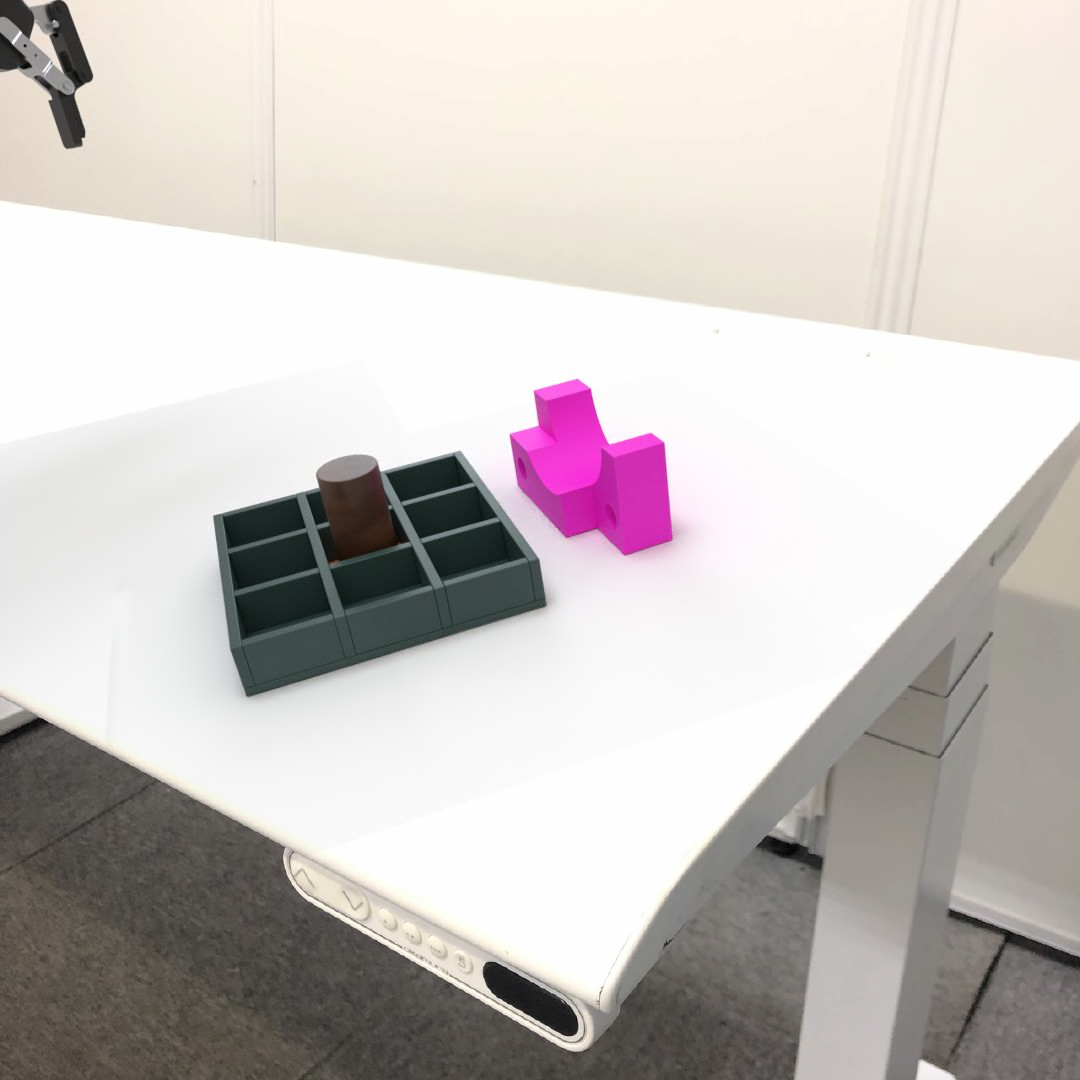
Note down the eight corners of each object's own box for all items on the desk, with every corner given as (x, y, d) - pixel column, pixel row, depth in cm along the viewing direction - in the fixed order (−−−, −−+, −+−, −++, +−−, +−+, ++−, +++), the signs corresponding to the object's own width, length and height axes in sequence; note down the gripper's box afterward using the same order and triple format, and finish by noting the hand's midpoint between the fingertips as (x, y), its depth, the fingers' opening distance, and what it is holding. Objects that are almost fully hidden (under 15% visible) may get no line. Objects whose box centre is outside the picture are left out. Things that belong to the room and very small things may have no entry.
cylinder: (348, 591, 71) (320, 487, 67) (338, 563, 74) (311, 464, 71) (407, 574, 72) (383, 471, 68) (395, 548, 75) (371, 448, 71)
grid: (246, 697, 63) (229, 649, 61) (226, 556, 80) (212, 515, 78) (547, 605, 67) (539, 558, 66) (468, 490, 84) (460, 450, 82)
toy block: (517, 484, 84) (503, 398, 80) (588, 464, 85) (577, 378, 81) (591, 565, 71) (578, 467, 67) (672, 539, 73) (664, 442, 69)
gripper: (-156, -87, 67) (-55, 174, 74) (55, -96, 76) (128, 138, 83) (-186, -65, 72) (-88, 177, 79) (15, -76, 80) (87, 144, 88)
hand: (22, 157), depth 81 cm, fingers open, 8 cm apart
